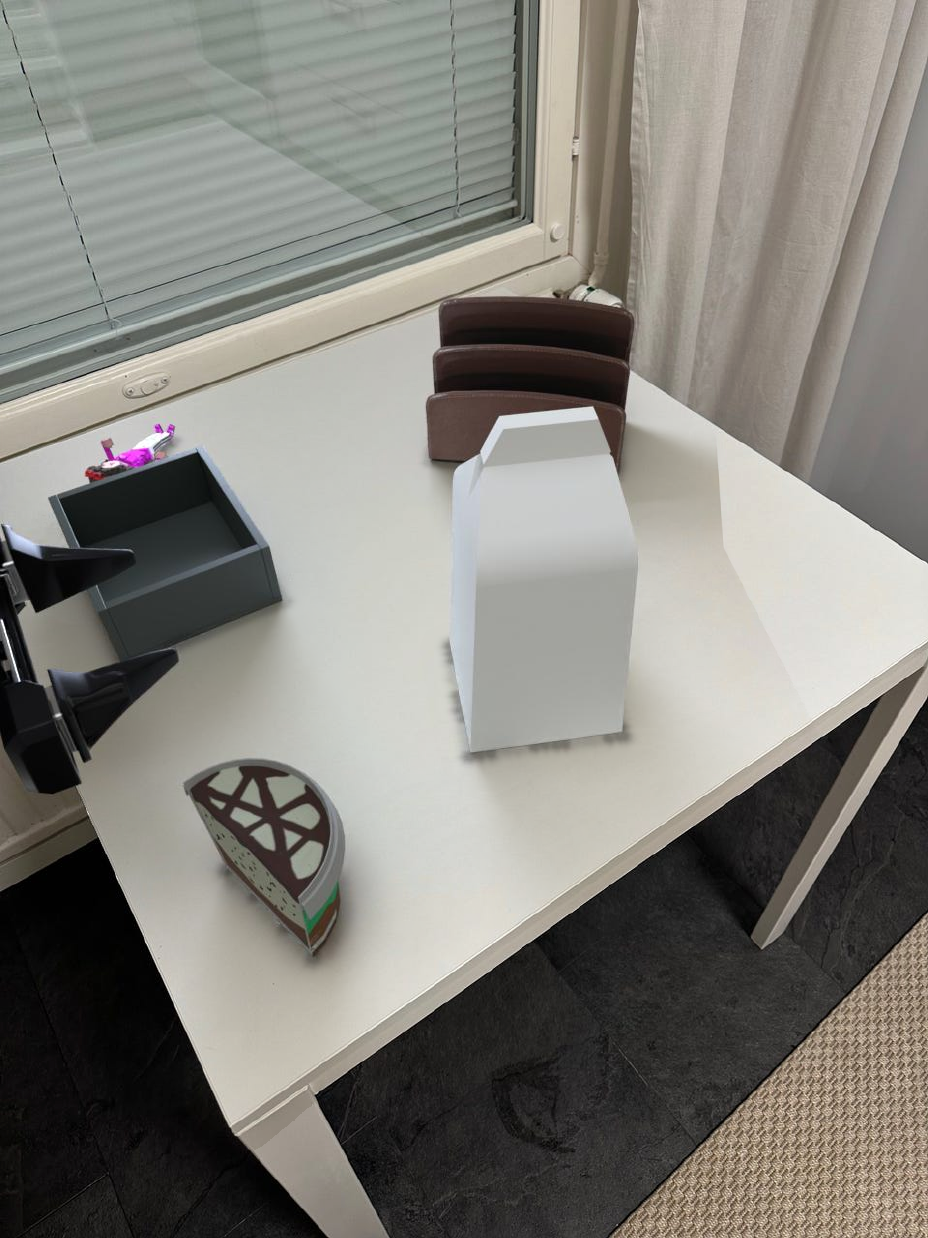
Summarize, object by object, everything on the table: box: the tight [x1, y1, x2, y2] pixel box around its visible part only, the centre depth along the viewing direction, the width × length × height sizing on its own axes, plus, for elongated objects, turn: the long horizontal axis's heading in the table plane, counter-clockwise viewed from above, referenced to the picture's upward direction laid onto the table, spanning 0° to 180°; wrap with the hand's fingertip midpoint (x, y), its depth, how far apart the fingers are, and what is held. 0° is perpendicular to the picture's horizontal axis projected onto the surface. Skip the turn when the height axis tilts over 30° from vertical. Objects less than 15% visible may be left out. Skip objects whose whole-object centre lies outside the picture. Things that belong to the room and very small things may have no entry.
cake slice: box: [182, 757, 346, 957], centre depth 58 cm, size 12×6×10 cm, turn 47°
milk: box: [449, 406, 639, 754], centre depth 63 cm, size 12×12×26 cm
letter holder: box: [425, 295, 635, 474], centre depth 90 cm, size 10×20×14 cm, turn 81°
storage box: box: [47, 445, 283, 662], centre depth 80 cm, size 15×17×7 cm
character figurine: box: [84, 423, 176, 483], centre depth 91 cm, size 6×5×12 cm
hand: (155, 603), depth 57 cm, fingers open, 9 cm apart
